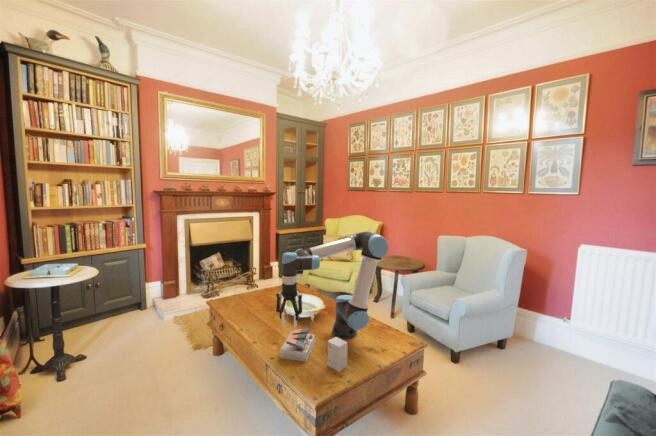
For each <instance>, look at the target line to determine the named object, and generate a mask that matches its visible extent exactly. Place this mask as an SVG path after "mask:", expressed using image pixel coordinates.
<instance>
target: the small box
mask: <svg viewBox="0 0 656 436" xmlns="http://www.w3.org/2000/svg"><path fill="white" fill-rule="evenodd" d="M348 344H349V343H348V341H346V340H344V339H343V338H339V337H336V336H335V337H332V338H331V339H329V340H327V357H326V358H327V360H326V362H327V364H326V365H327V366H328V367H330V368H331V369H333V370H335V371H337V372H339V373H340V372H342V371H343V370H344V369H346V368H347V367H348Z"/></svg>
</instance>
